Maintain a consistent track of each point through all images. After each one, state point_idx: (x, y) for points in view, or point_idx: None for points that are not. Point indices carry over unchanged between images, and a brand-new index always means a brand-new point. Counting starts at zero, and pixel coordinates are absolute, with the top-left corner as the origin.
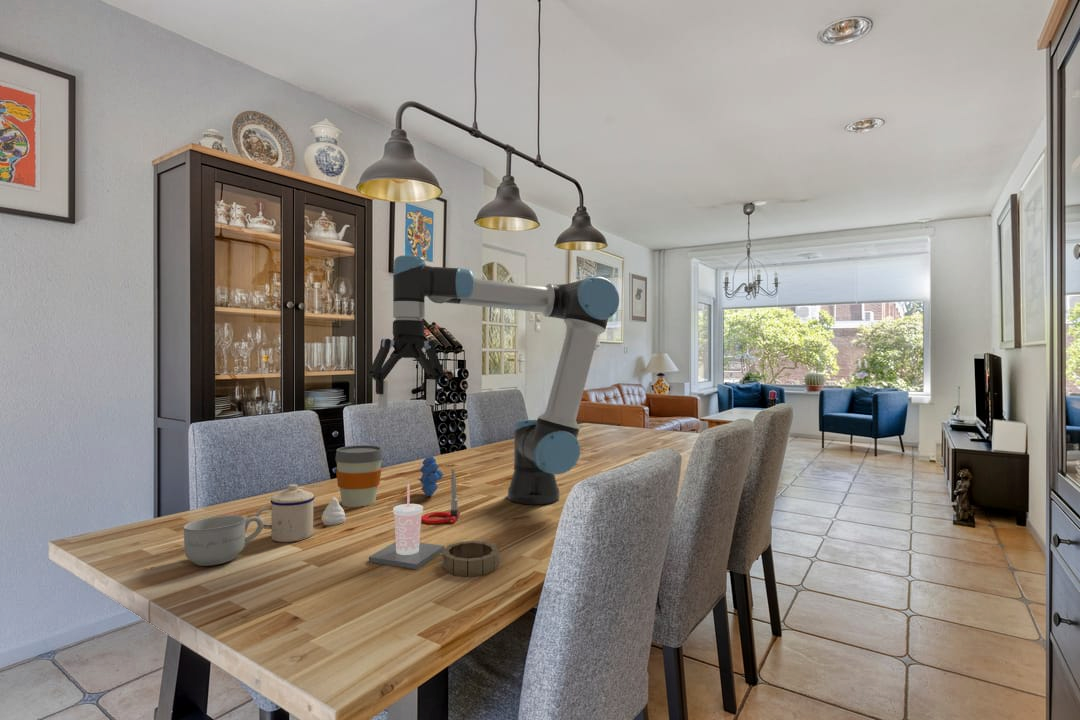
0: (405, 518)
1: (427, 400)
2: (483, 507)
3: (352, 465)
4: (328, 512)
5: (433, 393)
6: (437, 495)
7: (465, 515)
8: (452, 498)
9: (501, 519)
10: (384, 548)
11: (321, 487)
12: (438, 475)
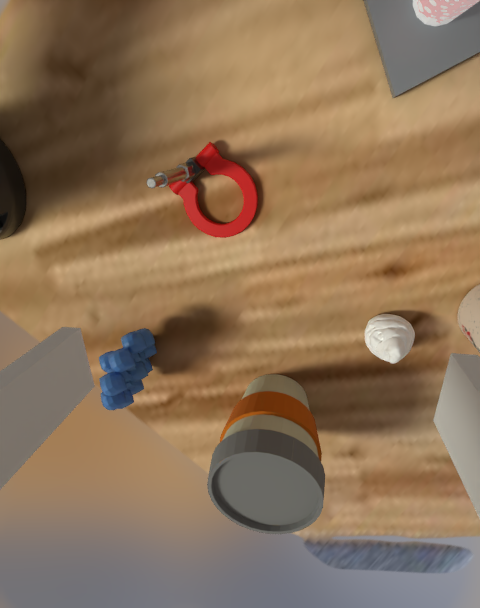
0: None
1: (75, 393)
2: (98, 202)
3: (307, 445)
4: (410, 336)
5: (11, 374)
6: None
7: None
8: (185, 172)
9: (110, 90)
10: (465, 56)
11: None
12: (122, 340)
